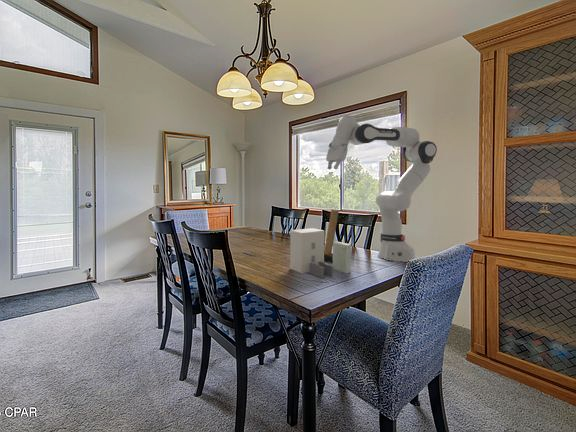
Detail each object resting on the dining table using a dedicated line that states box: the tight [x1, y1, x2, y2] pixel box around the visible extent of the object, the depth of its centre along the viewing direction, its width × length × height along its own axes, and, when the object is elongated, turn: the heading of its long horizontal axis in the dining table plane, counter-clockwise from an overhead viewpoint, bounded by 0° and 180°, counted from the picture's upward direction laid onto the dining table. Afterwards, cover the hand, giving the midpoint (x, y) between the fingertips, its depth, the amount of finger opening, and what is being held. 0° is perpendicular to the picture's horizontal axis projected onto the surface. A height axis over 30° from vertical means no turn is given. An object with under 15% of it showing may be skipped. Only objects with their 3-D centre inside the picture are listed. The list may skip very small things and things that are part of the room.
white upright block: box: [332, 241, 352, 274], centre depth 156 cm, size 10×4×14 cm, turn 33°
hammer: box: [324, 209, 340, 264], centre depth 174 cm, size 20×5×30 cm, turn 46°
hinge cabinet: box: [289, 227, 334, 279], centre depth 154 cm, size 22×14×20 cm, turn 33°
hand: (332, 169), depth 171 cm, fingers open, 8 cm apart
